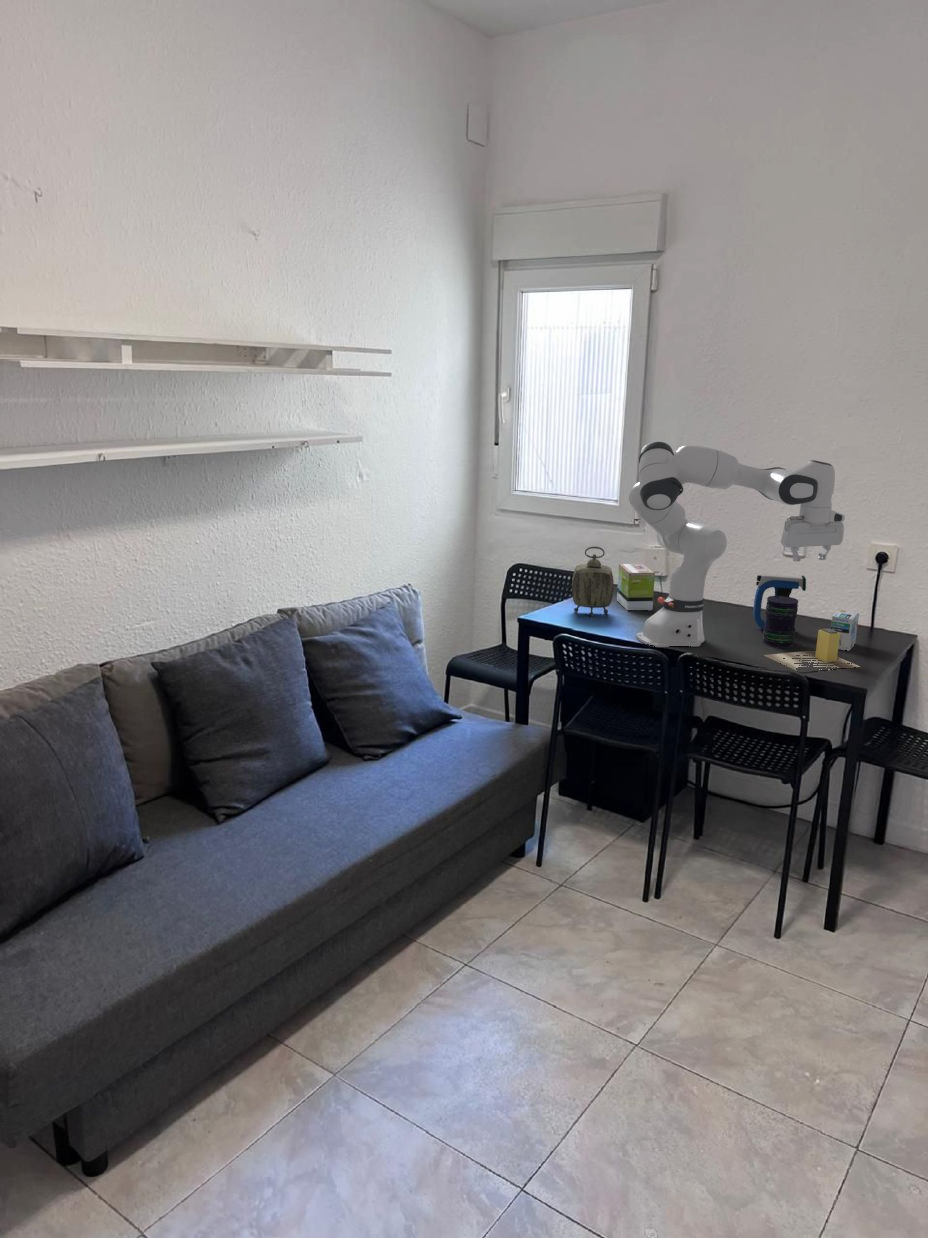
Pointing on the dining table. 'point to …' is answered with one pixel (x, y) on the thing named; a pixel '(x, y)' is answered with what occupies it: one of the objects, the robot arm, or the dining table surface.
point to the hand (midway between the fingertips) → (809, 560)
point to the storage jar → (780, 621)
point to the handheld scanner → (781, 586)
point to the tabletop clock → (592, 584)
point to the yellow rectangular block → (827, 645)
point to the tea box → (635, 586)
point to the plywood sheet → (790, 661)
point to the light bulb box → (845, 628)
